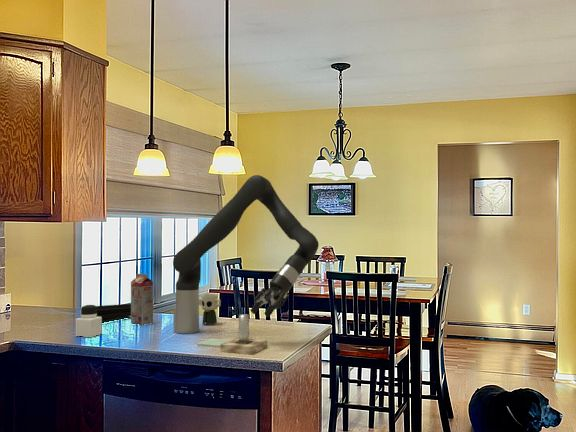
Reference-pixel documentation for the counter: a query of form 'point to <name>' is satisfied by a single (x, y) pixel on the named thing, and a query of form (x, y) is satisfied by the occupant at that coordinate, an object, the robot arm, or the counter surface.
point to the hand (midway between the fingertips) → (259, 314)
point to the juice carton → (141, 300)
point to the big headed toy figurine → (209, 307)
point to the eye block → (243, 346)
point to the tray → (114, 312)
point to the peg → (244, 329)
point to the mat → (212, 342)
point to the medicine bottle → (88, 322)
